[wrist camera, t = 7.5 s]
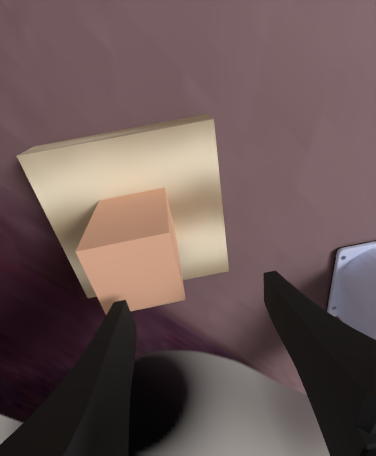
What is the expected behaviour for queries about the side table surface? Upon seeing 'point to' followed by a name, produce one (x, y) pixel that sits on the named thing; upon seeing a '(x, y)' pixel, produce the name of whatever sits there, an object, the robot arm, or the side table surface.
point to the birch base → (136, 186)
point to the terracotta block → (133, 251)
